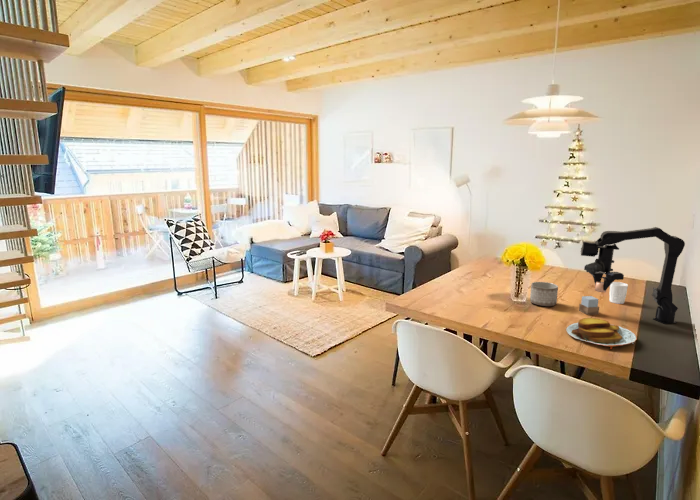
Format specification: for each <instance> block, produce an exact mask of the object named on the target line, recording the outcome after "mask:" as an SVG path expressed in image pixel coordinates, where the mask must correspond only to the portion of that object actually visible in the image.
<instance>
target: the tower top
mask: <svg viewBox="0 0 700 500" xmlns="http://www.w3.org/2000/svg"><path fill="white" fill-rule="evenodd" d="M580 304H582V305H584V306H586V307H599V299H598V298H597V297H594V296H592V295H588V296H587V295H586V296H581V302H580Z"/></svg>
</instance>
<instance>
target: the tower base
mask: <svg viewBox="0 0 700 500" xmlns="http://www.w3.org/2000/svg"><path fill="white" fill-rule="evenodd" d="M578 312H580V313H581V314H584V315H586V316H598V315H599V313H600V306H598V307H586V306H584V305H582V304H581V303H579V306H578Z"/></svg>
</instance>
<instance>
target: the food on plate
mask: <svg viewBox="0 0 700 500" xmlns="http://www.w3.org/2000/svg"><path fill="white" fill-rule="evenodd" d="M565 331H566V332H567V333H566V334H568V335H569V336H570V337H572V338H574V339H577V340H580V341H585V342H587V343H591V344H594V345H599V346H604V347H610V348H609V350H613V347H619V346H620V347H621V346H625V345H630V344H632V345H634V343H635V341H637V338H638V337H637V335H636V334H635V333H634V332H633V331H632V330H629V329H628V328H624V327H622V326H620V325H615V324H611V323H610V322H609V321H608V320H605V319H602V318H598V317H597V318H596V317H584V318H582V319H579V320H578V322H574V323H572V324H569V325H568V326H567V327H566V329H565ZM584 339H585V340H584ZM586 340H587V341H586Z"/></svg>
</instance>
